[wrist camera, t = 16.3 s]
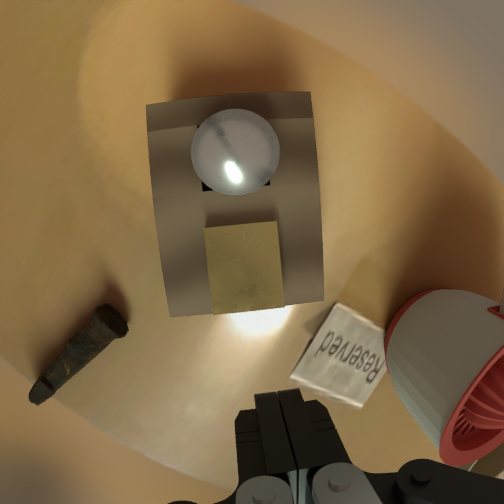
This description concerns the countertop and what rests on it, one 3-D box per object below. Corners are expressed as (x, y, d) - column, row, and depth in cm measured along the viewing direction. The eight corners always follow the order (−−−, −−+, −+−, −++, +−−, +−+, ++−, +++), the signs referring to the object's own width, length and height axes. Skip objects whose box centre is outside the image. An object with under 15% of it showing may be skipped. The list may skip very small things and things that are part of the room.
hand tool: (108, 296, 32) (93, 312, 27) (133, 324, 32) (121, 344, 28) (27, 372, 33) (11, 390, 28) (47, 394, 34) (33, 413, 29)
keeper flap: (204, 228, 23) (203, 228, 22) (274, 221, 23) (276, 220, 22) (213, 311, 23) (213, 314, 22) (282, 304, 23) (284, 307, 22)
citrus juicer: (482, 269, 35) (596, 319, 15) (439, 383, 38) (519, 465, 19) (396, 246, 33) (536, 308, 13) (350, 382, 36) (423, 503, 17)
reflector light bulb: (198, 135, 28) (187, 113, 19) (259, 130, 28) (275, 106, 19) (204, 194, 29) (194, 199, 20) (264, 189, 30) (283, 191, 20)
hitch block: (165, 124, 28) (145, 105, 21) (289, 113, 29) (310, 91, 21) (182, 285, 32) (170, 317, 24) (300, 273, 33) (324, 300, 25)
